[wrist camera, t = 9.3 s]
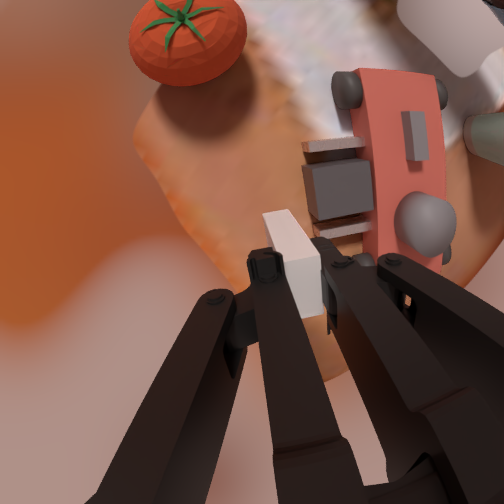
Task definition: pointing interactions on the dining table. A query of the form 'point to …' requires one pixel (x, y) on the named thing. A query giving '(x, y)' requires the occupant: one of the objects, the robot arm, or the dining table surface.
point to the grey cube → (338, 187)
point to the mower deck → (401, 162)
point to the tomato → (187, 39)
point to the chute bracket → (346, 224)
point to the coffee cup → (485, 136)
